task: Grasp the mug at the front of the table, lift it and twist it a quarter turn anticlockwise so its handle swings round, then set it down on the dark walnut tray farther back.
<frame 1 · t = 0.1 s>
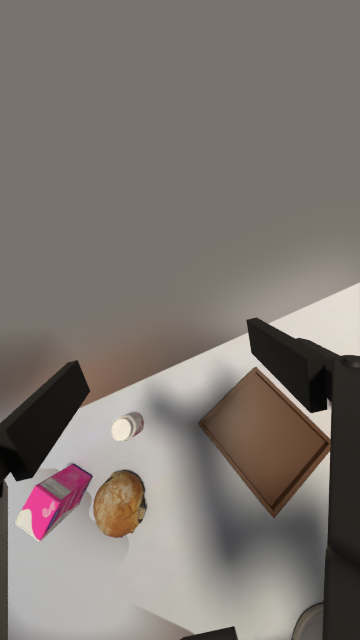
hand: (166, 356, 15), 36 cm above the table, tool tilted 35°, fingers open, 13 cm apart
pill bottle: (134, 423, 46), on the table
supplement box: (76, 482, 43), on the table
bread roll: (124, 497, 41), on the table
tray: (260, 431, 43), on the table
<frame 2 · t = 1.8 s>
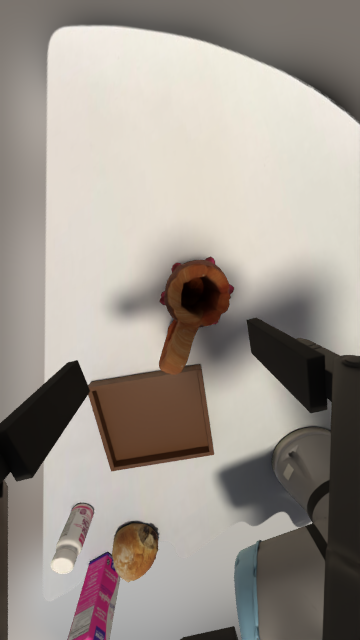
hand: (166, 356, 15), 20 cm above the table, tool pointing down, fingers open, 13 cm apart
pill bottle: (83, 509, 43), on the table
supplement box: (106, 561, 47), on the table
bread roll: (137, 535, 45), on the table
mug: (183, 303, 34), on the table
tray: (154, 415, 38), on the table
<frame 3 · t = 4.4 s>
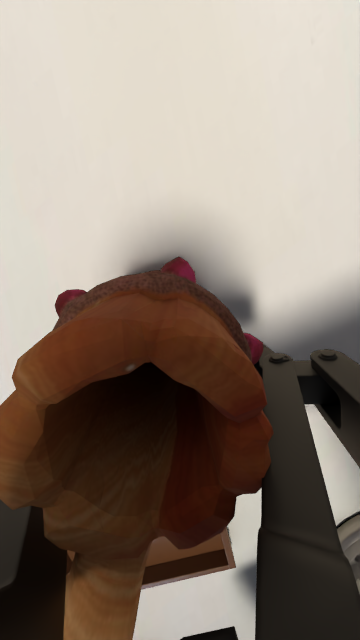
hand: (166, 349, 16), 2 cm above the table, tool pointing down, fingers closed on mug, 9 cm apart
mug: (154, 341, 18), on the table, touching gripper
tray: (136, 514, 24), on the table
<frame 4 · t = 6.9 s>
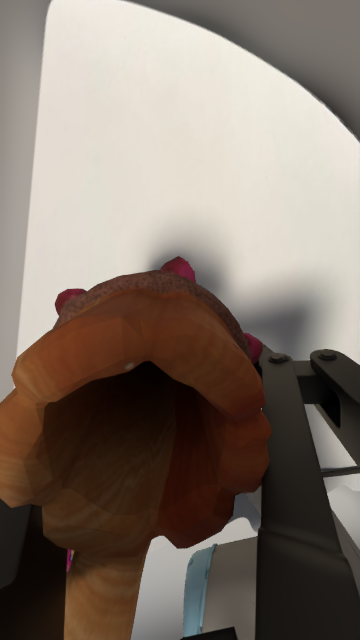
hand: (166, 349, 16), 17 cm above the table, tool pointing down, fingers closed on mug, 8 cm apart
mug: (154, 341, 19), point 15 cm above the table, touching gripper
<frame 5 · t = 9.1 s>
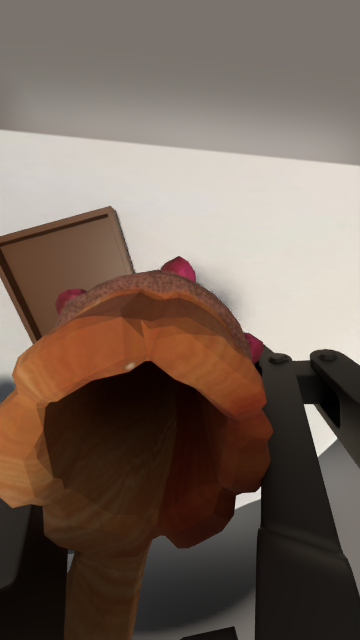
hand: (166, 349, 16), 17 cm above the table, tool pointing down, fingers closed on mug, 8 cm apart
mug: (154, 341, 19), point 14 cm above the table, touching gripper
tray: (81, 294, 31), on the table
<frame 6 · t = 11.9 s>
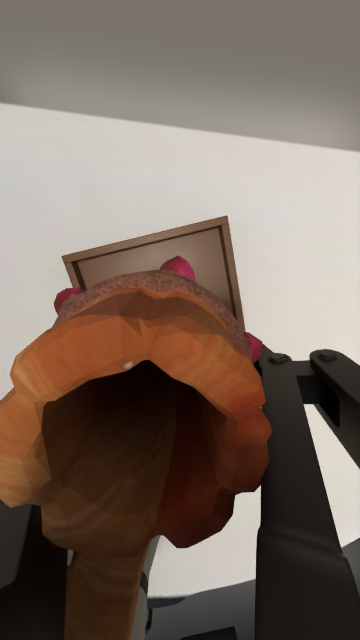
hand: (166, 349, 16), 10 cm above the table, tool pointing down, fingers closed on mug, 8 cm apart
mug: (154, 341, 18), point 7 cm above the table, touching gripper
tray: (167, 320, 26), on the table
when the fingers open (3 cm above the table, at t = 14.0 s): mug stays where it is, resting on tray.
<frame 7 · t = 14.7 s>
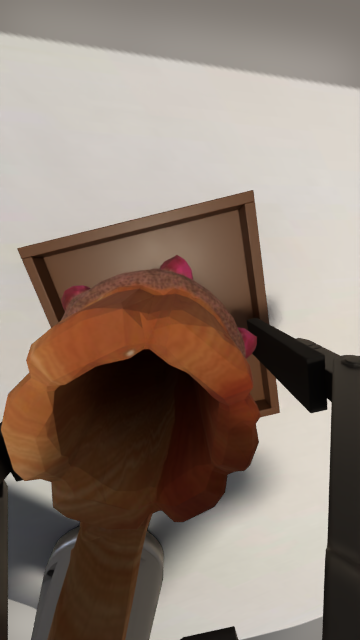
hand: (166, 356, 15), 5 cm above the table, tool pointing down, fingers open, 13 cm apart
mug: (155, 338, 19), resting on tray
tray: (167, 334, 19), on the table
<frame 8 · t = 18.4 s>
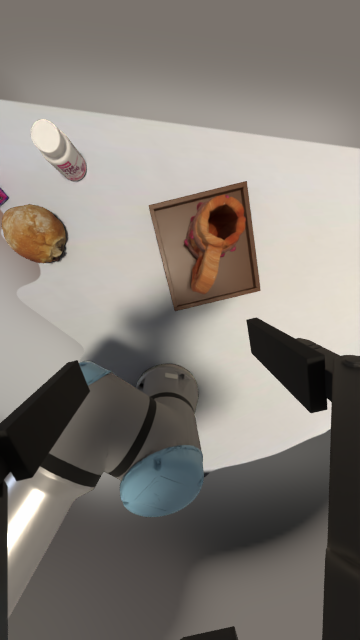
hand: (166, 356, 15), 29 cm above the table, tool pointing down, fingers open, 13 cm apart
pill bottle: (74, 167, 36), on the table
bread roll: (44, 237, 38), on the table
mug: (200, 252, 40), resting on tray
tray: (206, 251, 40), on the table
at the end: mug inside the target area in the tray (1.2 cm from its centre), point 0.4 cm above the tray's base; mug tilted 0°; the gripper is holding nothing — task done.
